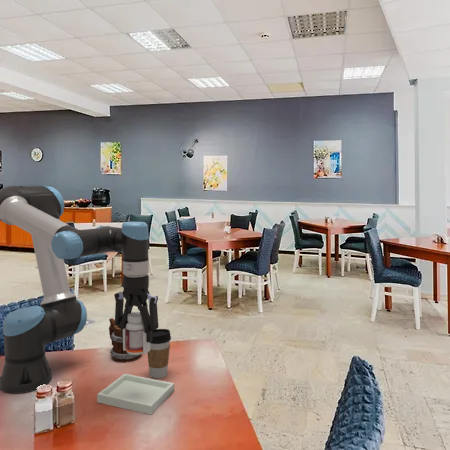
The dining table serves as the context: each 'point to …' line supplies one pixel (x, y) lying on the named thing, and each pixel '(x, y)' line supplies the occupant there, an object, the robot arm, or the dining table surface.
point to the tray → (136, 393)
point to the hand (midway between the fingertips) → (136, 350)
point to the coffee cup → (159, 353)
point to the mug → (119, 344)
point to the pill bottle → (134, 334)
